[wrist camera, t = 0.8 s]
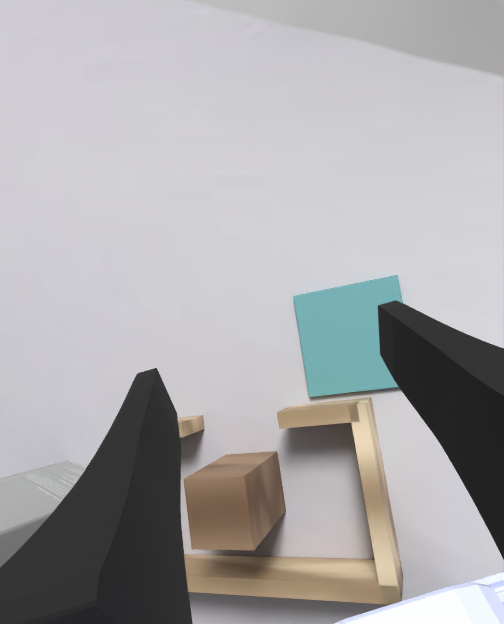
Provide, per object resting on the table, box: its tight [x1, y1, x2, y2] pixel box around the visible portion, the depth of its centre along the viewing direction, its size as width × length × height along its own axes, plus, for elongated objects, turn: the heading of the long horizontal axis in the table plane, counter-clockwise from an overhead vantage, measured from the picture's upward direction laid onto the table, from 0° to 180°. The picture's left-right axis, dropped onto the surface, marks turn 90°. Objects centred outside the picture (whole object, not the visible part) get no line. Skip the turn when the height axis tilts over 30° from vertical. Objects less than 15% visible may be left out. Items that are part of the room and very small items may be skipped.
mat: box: [293, 275, 403, 397], centre depth 28 cm, size 7×7×1 cm
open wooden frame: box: [178, 398, 403, 605], centre depth 29 cm, size 11×18×3 cm, turn 98°
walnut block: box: [184, 451, 286, 550], centre depth 27 cm, size 4×4×6 cm
